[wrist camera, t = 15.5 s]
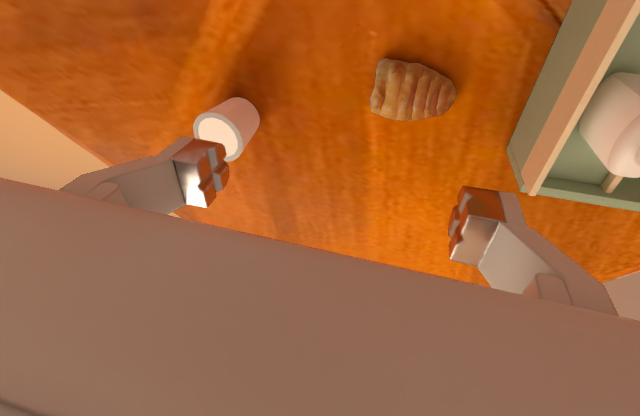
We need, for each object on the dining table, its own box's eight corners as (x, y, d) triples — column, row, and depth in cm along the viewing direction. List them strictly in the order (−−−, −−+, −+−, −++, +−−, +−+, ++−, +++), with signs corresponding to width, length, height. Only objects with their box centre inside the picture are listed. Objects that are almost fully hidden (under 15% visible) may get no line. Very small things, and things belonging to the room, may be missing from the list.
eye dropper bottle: (557, 114, 30) (610, 189, 21) (625, 60, 26) (723, 124, 17) (591, 141, 31) (656, 225, 22) (661, 93, 27) (774, 170, 18)
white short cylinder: (273, 120, 46) (252, 143, 41) (246, 146, 50) (224, 170, 45) (236, 81, 44) (209, 101, 39) (211, 112, 48) (183, 134, 43)
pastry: (463, 64, 36) (466, 75, 33) (445, 122, 40) (446, 136, 37) (377, 54, 37) (372, 64, 35) (369, 110, 42) (364, 123, 39)
